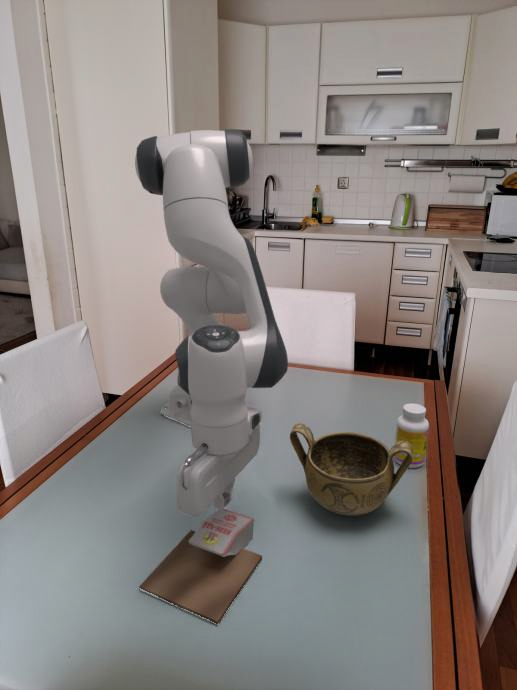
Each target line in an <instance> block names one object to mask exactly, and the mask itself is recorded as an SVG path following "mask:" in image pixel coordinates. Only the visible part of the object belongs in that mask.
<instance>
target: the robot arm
mask: <svg viewBox="0 0 517 690" xmlns="http://www.w3.org/2000/svg"><path fill="white" fill-rule="evenodd" d="M253 162H254V157H253V152H252V147H251V145H250V144H249V142H248V139H247V136H246V135H245V134H244V133H243V132H242V131H240V130H237V129H231V128H230V129H229V128H225V129H224V130H216V129H215V130H214V129H199V130H190V131H187V132H180V133H179V132H178V133H172V134H167V135H164V136H160V137H158V136H157V135H153V136H150V137H148V138H144V139H142V140H141V142H140V143H138V146H137V148H136V154H135V158H134V167H135V173H136V176H137V178H138V180H139V182H140V183H141V186H142V188H143V190H145V191H146V192H148V193H150V194H152V195H157V196H162V207H163V210H162V211H163V219H164V225H165V231H166V236H167V239H168V242H169V244H170V246H171V247H172V248H173V249H174V251H175V252H176V253H177V254H179V255H180V256H181V257H183V258H184V259H186V260H187V261H189V262H191V263H193V264H197V265H199V266H189V265H187V266H180V267H175V268H172V269H168V270H167V271H166V272H165V273H164V275H163V277H162V278H161V281H160V285H159V286H160V287H159V291H160V297H161V299H162V302H163V303H164V304H165V305H166V306H167V307H168V308H169V309H171V310H172V311H173V313H175V314H176V315H177V316H178V317H179V318H180V319H181V321H182V322H183V324H184V325H185V327H186V329H187V331H188V334H189V335H187V336H186V337H185V338H184V339H183V340H182V341H181V343H179V345H178V346H177V347H176V348H175V352H174V353H175V358H176V364H177V370H178V371H177V381H176V382H177V385H175V386H174V387H173V388H172V390H171V391H170V392H169V398H168V401H167V402H166V403H165V404H164V405H163V406H162V408H161V409H160V415H161V414H163V415H165V416H168V417H170V418H173V419H175V420H177V421H179V422H182V423H184V424H186V425H188V426H191V428H190V430H191V431H190V432H191V444H192V446H193V447H194V448H195V450H194V451H193V452H192V454H190V455H188V456H187V457H186V458H185V461H184V462H183V463H182V465H181V466H180V468H179V469H178V474H177V480H176V507H177V510H178V511H179V512H181V513H183V514H185V515H188V516H191V517H195V518H199V517H200V516H201V515H202V514H204V512H206V510H207V509H208V508H209V507H210V506H211V505H212V503H213V507H214V509H216V510H217V511H218V510H223V509H226V507H227V505H228V504H230V502H231V501H232V500H233V496H232V495H233V494H232V492H233V491H234V486H235V482H236V478H237V476H238V475H239V474H240V473H241V472H242V471H243V470H244V469H245V467H246V466H248V464H250V462H251V461H252V460H253V459H254V458H255V457H256V456H257V455H258V452H259V448H260V445H261V425H260V423H261V421H262V417H263V415H262V410H258V409H256V408H252V407H249V406H247V403H246V395H247V392H248V391H247V390H248V388H251V389H271V388H273V387H275V386H276V385H277V384H278V383H279V382H280V381H281V380H282V379H283V378H284V376H285V375H286V373H287V372H288V368H289V364H288V363H289V356H288V352H287V349H286V346H285V342H284V340H283V337H282V334H281V332H280V329H279V327H278V324H277V321H276V317H275V314H274V311H273V310H274V309H273V307H272V304H271V299H270V296H269V292H268V289H267V283H266V281H265V278H264V275H263V272H262V269H261V266H260V262H259V259H258V256H257V254H256V251H255V248H254V246H253V244H252V242H251V240H250V239H249V238H248V237H245V236H243V235H242V234H241V233H240V232H239V230H237V228H236V227H235V225H234V222H233V221H232V218H231V216H230V211H229V203H228V194H227V188H230V189H231V190H232V189H235V188H238V187H241V186H244V185H245V184H246V182H248V180H249V179H250V175H251V173H252V168H253V164H254V163H253ZM215 314H225V315H226V314H227V315H228V314H229V315H241V314H242V315H243V314H246V315H247V318H248V322H249V326H250V328H248V329H246V330H239V331H238V330H236V329H235V328H232V327H231V326H227V325H225V324H223V323H222V322H220V320H219V319H217V317H216V315H215ZM165 408H166V409H165ZM188 426H187V427H188Z"/></svg>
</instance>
